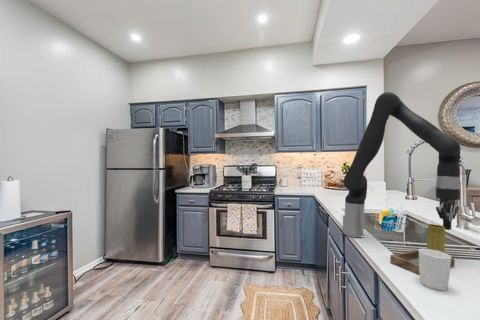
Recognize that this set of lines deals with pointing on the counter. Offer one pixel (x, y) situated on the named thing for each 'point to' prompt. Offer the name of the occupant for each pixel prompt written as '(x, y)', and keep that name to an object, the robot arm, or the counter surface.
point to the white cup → (434, 268)
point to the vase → (436, 238)
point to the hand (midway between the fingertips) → (447, 229)
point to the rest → (409, 260)
